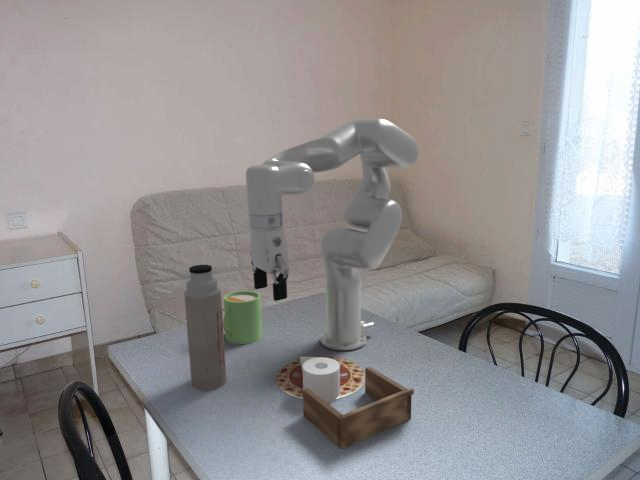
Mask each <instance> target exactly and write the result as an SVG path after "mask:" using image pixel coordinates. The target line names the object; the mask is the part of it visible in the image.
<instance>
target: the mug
mask: <svg viewBox="0 0 640 480" xmlns="http://www.w3.org/2000/svg"><path fill="white" fill-rule="evenodd" d="M261 299H262V298H261V294H260V293H259V292H257V291H255V290H237V291H232V292H229V293H227V294H225V295H224V296H223V309H222V312H223V311H224V315H223V332H224V334H225V338H226V341H227V342H229V343H231V344H236V345H237V344H238V345H245V344H251V343H252V344H253V343H256V342H258V341H259V340H260V339H262V337H263V327H262V326H263V325H262V323H263V322H262V305H261V303H262V300H261Z"/></svg>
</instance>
